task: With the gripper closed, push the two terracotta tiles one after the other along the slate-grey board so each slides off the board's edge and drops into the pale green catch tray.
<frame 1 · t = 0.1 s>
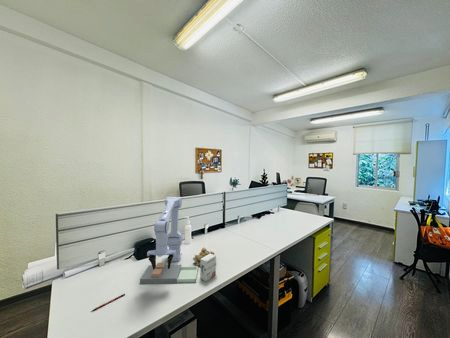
hand: (161, 268, 94), 10 cm above the table, fingers open, 7 cm apart
ink box: (208, 276, 104), on the table
tile 1: (160, 266, 107), point 3 cm above the table, touching board
mineral formation: (205, 263, 117), on the table
board: (162, 275, 104), on the table
pencil: (108, 304, 83), on the table
catch tray: (188, 275, 104), on the table
tile 2: (156, 273, 100), point 3 cm above the table, touching board
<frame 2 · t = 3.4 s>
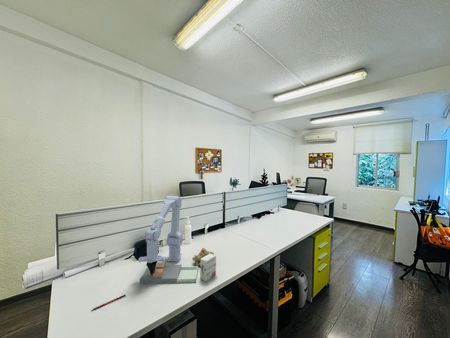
hand: (152, 273, 100), 3 cm above the table, fingers closed
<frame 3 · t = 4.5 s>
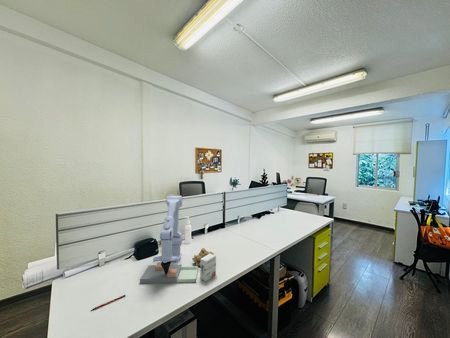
hand: (166, 273, 101), 3 cm above the table, fingers closed
tile 2: (172, 272, 101), point 4 cm above the table, touching gripper
everything else where it was.
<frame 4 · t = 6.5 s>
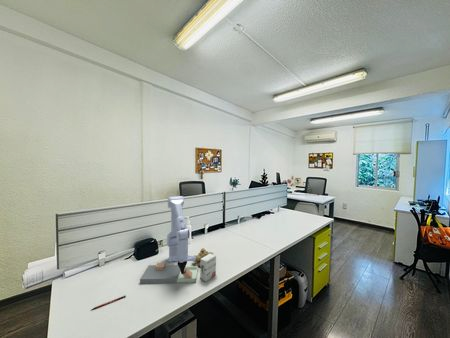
hand: (182, 273, 101), 3 cm above the table, fingers closed
tile 2: (187, 274, 101), point 3 cm above the table, tilted 41°, touching catch tray, gripper
everything else where it was.
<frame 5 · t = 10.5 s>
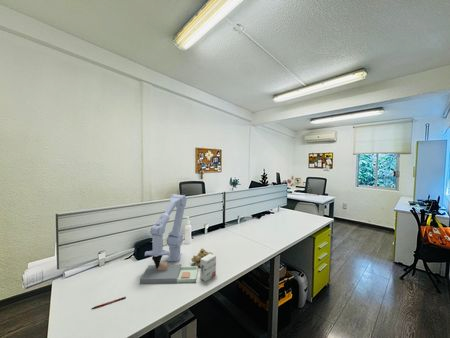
hand: (157, 266, 107), 3 cm above the table, fingers closed
tile 1: (163, 266, 107), point 4 cm above the table
tile 2: (185, 276, 101), point 1 cm above the table, touching catch tray
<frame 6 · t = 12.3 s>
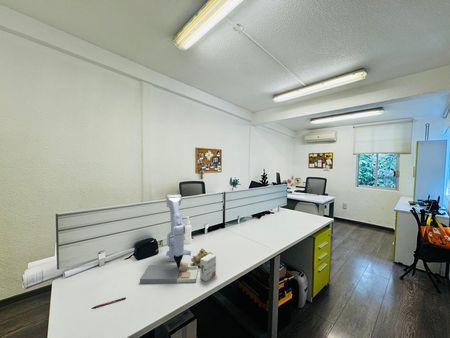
hand: (178, 266, 107), 3 cm above the table, fingers closed
tile 1: (183, 266, 107), point 3 cm above the table, tilted 9°, touching gripper
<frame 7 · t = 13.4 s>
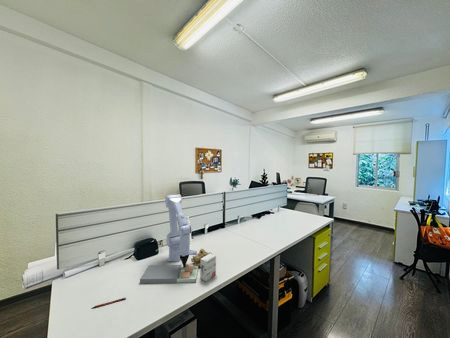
hand: (184, 266, 108), 3 cm above the table, fingers closed
tile 1: (189, 268, 107), point 2 cm above the table, tilted 21°, touching catch tray, gripper
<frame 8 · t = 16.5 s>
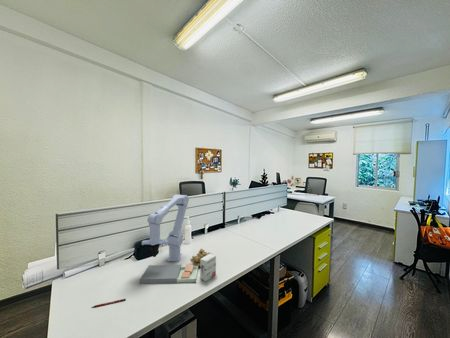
hand: (154, 256, 105), 10 cm above the table, fingers closed
tile 1: (189, 268, 107), point 2 cm above the table, tilted 21°, touching catch tray
at the end: tile 2 inside the target area (2.9 cm from its centre), point 1.5 cm above the table; tile 1 inside the target area (3.1 cm from its centre), point 2.3 cm above the table; tile 2 touching catch tray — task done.
